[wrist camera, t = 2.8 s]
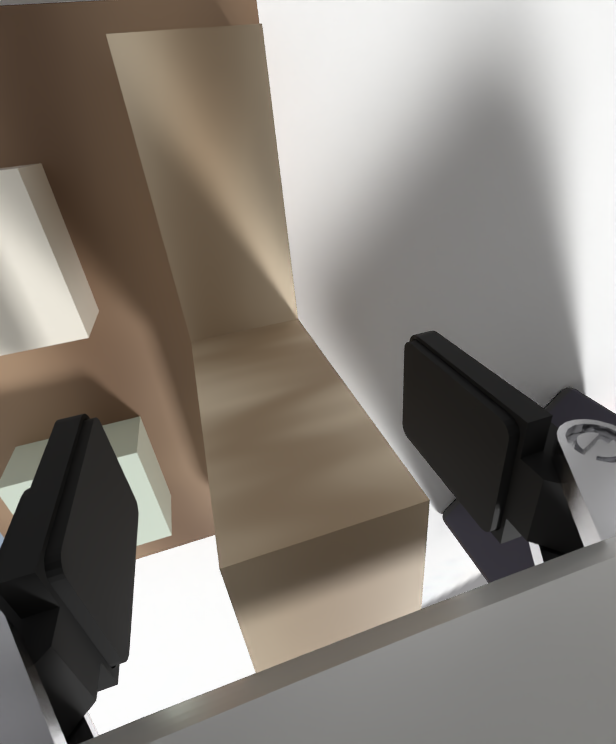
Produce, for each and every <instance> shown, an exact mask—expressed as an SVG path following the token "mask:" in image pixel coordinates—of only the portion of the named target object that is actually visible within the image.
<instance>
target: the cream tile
mask: <svg viewBox="0 0 616 744" xmlns="http://www.w3.org/2000/svg"><path fill="white" fill-rule="evenodd" d="M98 312H99V310H98V307H97V304H96V302H95V299H94V297H93V294H92V292H91V289H90V287H89V284H88V281H87V279H86V276H85V274H84V271H83V269H82V266H81V264H80V261H79V258H78V256H77V253H76V251H75V248H74V246H73V243H72V240H71V238H70V235H69V233H68V230H67V228H66V225H65V223H64V220H63V217H62V215H61V212H60V210H59V207H58V205H57V202H56V200H55V197H54V194H53V192H52V189H51V187H50V184H49V182H48V179H47V176H46V174H45V171H44V169H43V166H42V164H41V163H39V164H31V165H23V166H14V167H6V168H0V356H2V355H7V354H12V353H17V352H22V351H27V350H32V349H36V348H41V347H46V346H51V345H56V344H61V343H66V342H71V341H76V340H81V339H86V338H89V336H90V333H91V331H92V328H93V325H94V323H95V320H96V318H97V315H98Z"/></svg>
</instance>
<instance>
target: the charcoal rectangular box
mask: <svg viewBox="0 0 616 744" xmlns="http://www.w3.org/2000/svg"><path fill="white" fill-rule="evenodd" d="M544 409H545V410H546V411H548V412H549V413H550V414H552V415H553V417H552V420H551V423H553V424H554V425H555V426H557V427H558V428H559V427H560V426H561V425H562V424H564V423H565V422H568V421H572V420H577V419H589V420H597V421H602V422H605V423H609V424H612V425H614V426H616V414H615V413H613V412H612V411H610V410H608V409H607V408H605V407H604V406H602V405H600V404H599V403H597V402H595V401H594V400H592V399H591V398H589V397H587V396H586V395H584V394H582V393H581V392H579V391H578V390H576V389H574V388H565V389H564V390H562V391H561V392H560V393H559V394H558V395H557V396H556V397H555V398H554V399H553V400H552V401H551V402H550V403H549V404H548V405H547V406H546V407H545V408H544ZM443 520H444V522H445V524H446V525H447V526H448V528H449V529H450V531H451V532H452V533H453V535H454V536H455V537H456V539H457V540H458V542H459V543H460V544H461V546H462V547H463V549H464V550H465V551H466V553H467V554H468V555H469V557H470V558H471V560H472V561H473V562H474V564H475V565H476V566H477V568H478V569H479V571H480V572H481V573H482V575H483V576H484V577H485V579H486V580H487V582H488V583H491V582H493V581H496V580H499V579H501V578H504V577H507V576H509V575H512V574H514V573H517V572H520V571H522V570H525V569H528V568H530V567H533V566H535V564H534V560H533V557H532V553H531V549H530V545H529V542H528V541H526V540H525V539H524V538H523V536H522V535H521V537H518V538H516V539H513V540H510V541H508V542H505V543H502V544H500V543H499V542H498V540H497V539H496V538H495V537H494V536H493V534H492V533H491V532H485V531H484V530H482V529H481V528H480V527H479V525H478V524H477V523H476V522H475V520H474V519H473V518H472V517H471V515H470V514H469V513H468V512H467V510H466V509H465V508H464V507H463V505H462V504H461V503H460V502H459V501H458V499H456V500H455V501H454V502H453V503H452V504H451V505H450V506H449V507H448V508H447V509H446V510H445V512H444V513H443Z"/></svg>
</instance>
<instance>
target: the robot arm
mask: <svg viewBox="0 0 616 744" xmlns="http://www.w3.org/2000/svg"><path fill="white" fill-rule="evenodd" d="M552 417H553V415H552V414H550V413H549V412H548V411H546V410H545V409H543V408H542V407H541V406H539V405H538V404H536V403H535V402H534V401H532V400H531V399H529V398H528V397H527V396H525V395H524V394H522V393H521V392H520V391H518V390H517V389H515V388H514V387H513V386H511V385H510V384H508V383H507V382H506V381H504V380H503V379H501V378H500V377H499V376H497V375H496V374H494V373H493V372H492V371H490V370H489V369H487V368H486V367H485V366H483V365H482V364H481V363H479V362H478V361H476V360H475V359H474V358H472V357H471V356H469V355H468V354H467V353H465V352H464V351H462V350H461V349H460V348H458V347H457V346H455V345H454V344H453V343H451V342H450V341H448V340H447V339H446V338H444V337H443V336H441V335H440V334H439V333H437V332H435V331H429V332H425V333H421V334H416V335H413V336H412V337H411V338H410V342H407V343H406V344H405V348H404V386H403V429H404V432H405V434H406V436H407V437H408V439H409V440H410V441H411V442H412V444H413V445H414V446H415V447H416V449H417V450H418V451H419V452H420V454H421V455H422V456H423V457H424V458H425V460H426V461H427V462H428V463H429V465H430V466H431V467H432V468H433V470H434V471H435V472H436V473H437V475H438V476H439V477H440V478H441V480H442V481H443V482H444V483H445V484H446V486H447V487H448V488H449V489H450V491H451V492H452V493H453V494H454V496H455V497H456V498H457V499H458V501H459V502H460V503H461V504H462V505H463V507H464V508H465V509H466V510H467V512H468V513H469V514H470V515H471V517H472V518H473V519H474V520H475V522H476V523H477V524H478V525H479V527H480V528H481V529H482V530H484V531H485V532H491V533H492V534H493V536H494V537H495V538H496V539H497V540H498V542H499V543H500V544H502V543H505V542H508V541H510V540H513V539H516V538H518V537H521V535H522V536H523V538H524V539H525V540H526V541H528V542H529V545H530V549H531V553H532V557H533V560H534V564H535V566H533V567H530V568H528V569H525V570H522V571H520V572H517V573H514V574H512V575H509V576H507V577H504V578H501V579H499V580H496V581H493V582H491V583H488V584H485V585H483V586H480V587H478V588H475V589H472V590H470V591H467V592H464V593H462V594H459V595H457V596H454V597H452V598H449V599H446V600H444V601H441V602H438V603H436V604H433V605H431V606H428V607H425V608H423V609H420V610H418V611H415V612H412V613H410V614H407V615H405V616H402V617H399V618H397V619H394V620H392V621H389V622H387V623H384V624H381V625H379V626H376V627H374V628H371V629H368V630H366V631H363V632H361V633H358V634H355V635H353V636H350V637H348V638H345V639H343V640H340V641H337V642H335V643H332V644H330V645H327V646H324V647H322V648H319V649H317V650H314V651H312V652H309V653H306V654H304V655H301V656H299V657H296V658H294V659H291V660H288V661H286V662H283V663H281V664H278V665H276V666H273V667H271V668H268V669H265V670H263V671H260V672H258V673H255V674H253V675H250V676H248V677H245V678H243V679H240V680H237V681H235V682H232V683H230V684H227V685H225V686H222V687H220V688H217V689H214V690H212V691H209V692H207V693H204V694H202V695H199V696H197V697H194V698H191V699H189V700H186V701H184V702H181V703H179V704H176V705H174V706H171V707H169V708H166V709H163V710H161V711H158V712H156V713H153V714H151V715H148V716H146V717H143V718H140V719H138V720H136V721H133V722H131V723H128V724H126V725H123V726H121V727H119V728H116V729H114V730H111V731H109V732H106V733H104V734H102V735H99V734H98V732H97V730H96V728H95V725H94V723H93V721H92V719H91V717H90V715H89V713H88V710H89V709H90V708H91V706H92V705H93V704H94V703H95V701H96V698H97V692H98V691H101V690H104V689H107V688H109V687H112V686H115V685H117V684H118V676H119V664H121V663H124V662H126V661H127V660H128V656H129V648H130V634H131V619H132V605H133V590H134V576H135V561H136V547H137V532H138V518H139V511H138V505H137V501H136V499H135V496H134V494H133V492H132V490H131V488H130V485H129V483H128V481H127V479H126V477H125V475H124V472H123V470H122V468H121V466H120V464H119V461H118V459H117V457H116V455H115V453H114V450H113V448H112V446H111V444H110V442H109V440H108V437H107V435H106V433H105V431H104V429H103V426H102V424H101V422H100V420H99V419H98V418H96V417H95V418H91V419H90V418H89V416H88V415H87V414H85V413H84V414H80V415H76V416H72V417H68V418H63V419H59V420H57V421H56V422H55V424H54V427H53V429H52V432H51V435H50V437H49V440H48V442H47V445H46V448H45V450H44V453H43V455H42V458H41V461H40V463H39V466H38V468H37V471H36V474H35V476H34V479H33V481H32V484H31V487H30V488H28V489H27V490H25V491H24V492H23V494H22V496H21V498H20V500H19V503H18V505H17V508H16V510H15V513H14V515H13V518H12V520H11V523H10V525H9V528H8V530H7V533H6V535H5V538H4V540H3V543H2V545H1V548H0V744H616V426H614V425H612V424H609V423H605V422H602V421H597V420H589V419H577V420H572V421H568V422H565V423H564V424H562V425H561V426H560V427H559V428H558V427H557V426H555V425H554V424H553V423H551V420H552Z"/></svg>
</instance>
